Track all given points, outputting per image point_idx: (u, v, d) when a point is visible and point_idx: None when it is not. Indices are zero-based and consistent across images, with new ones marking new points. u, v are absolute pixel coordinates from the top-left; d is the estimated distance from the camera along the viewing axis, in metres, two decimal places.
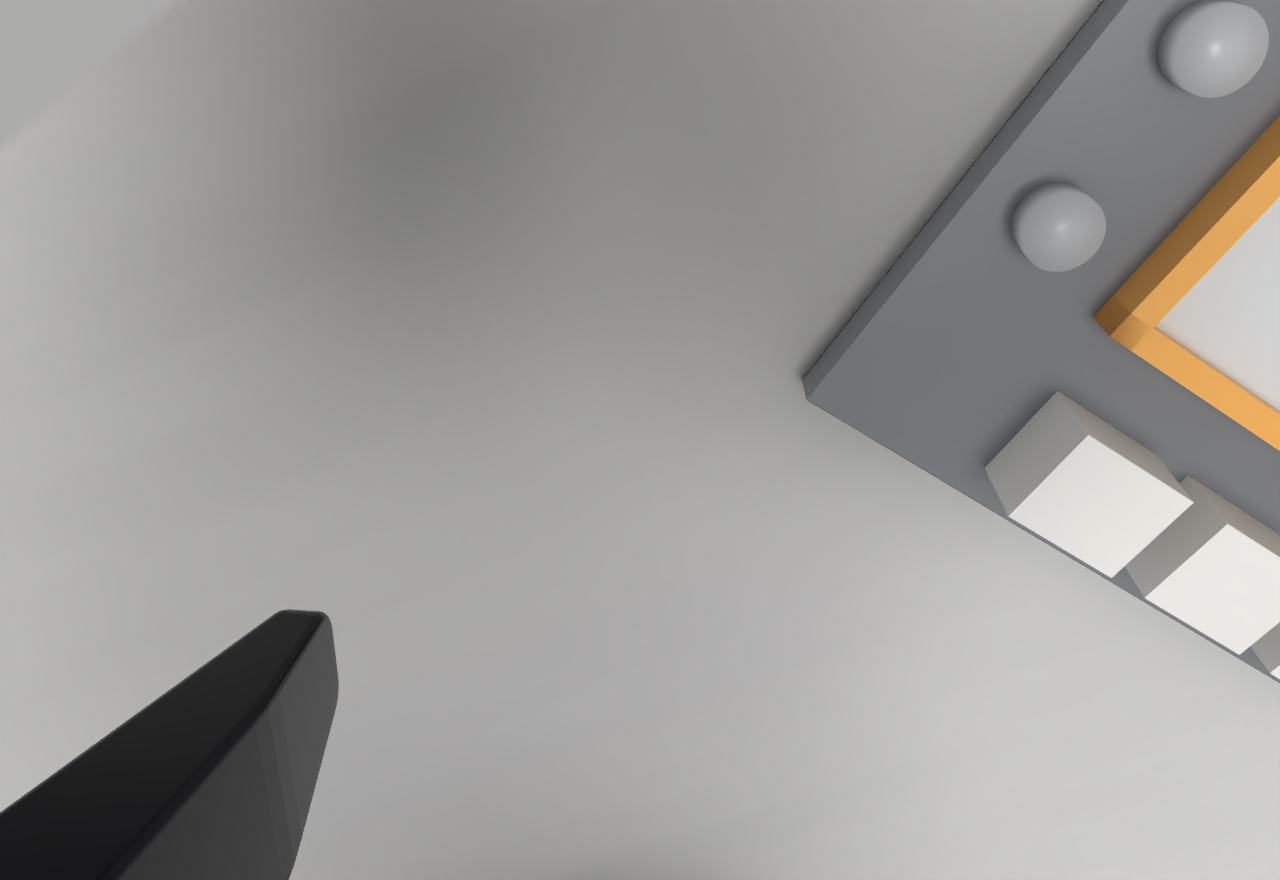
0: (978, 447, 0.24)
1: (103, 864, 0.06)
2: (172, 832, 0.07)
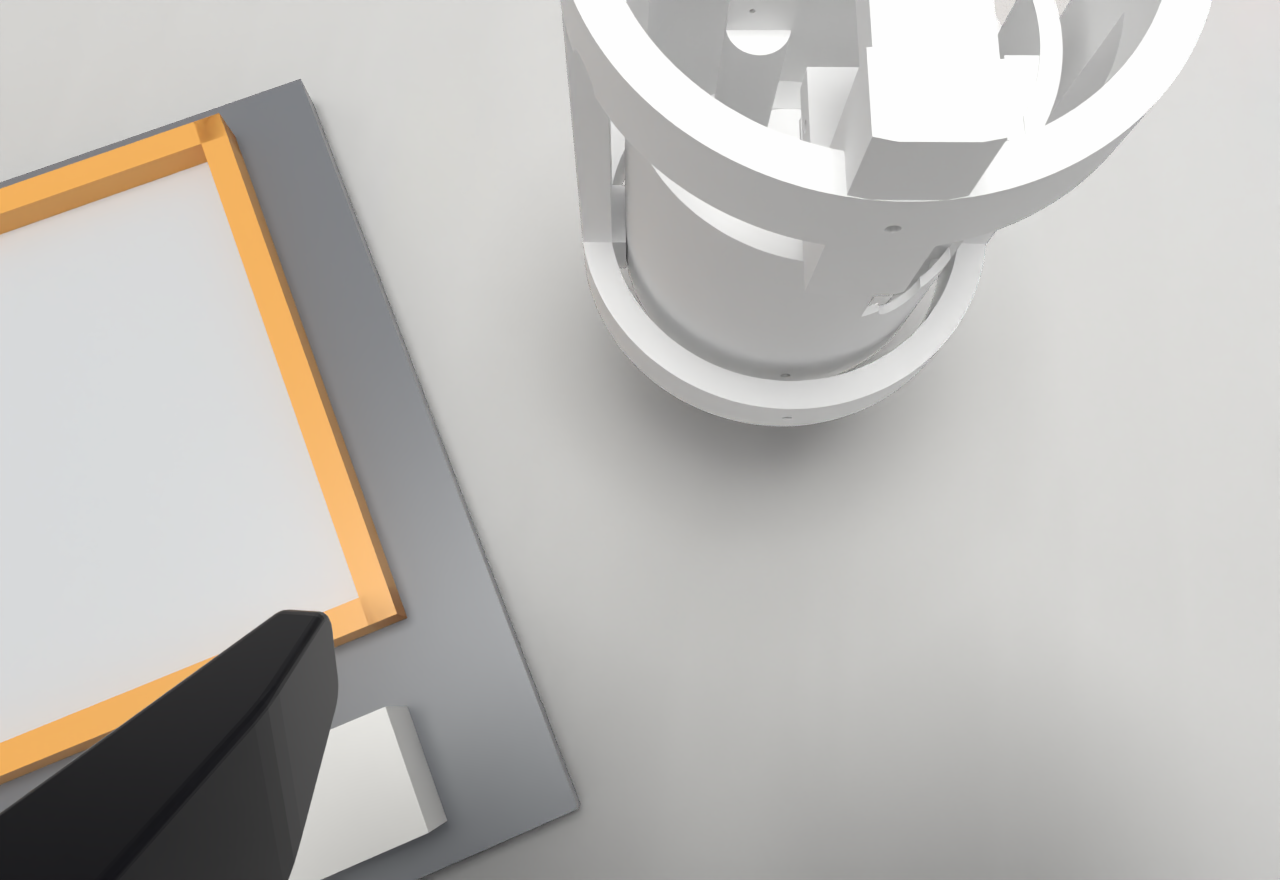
0: None
1: (103, 864, 0.06)
2: (172, 832, 0.07)
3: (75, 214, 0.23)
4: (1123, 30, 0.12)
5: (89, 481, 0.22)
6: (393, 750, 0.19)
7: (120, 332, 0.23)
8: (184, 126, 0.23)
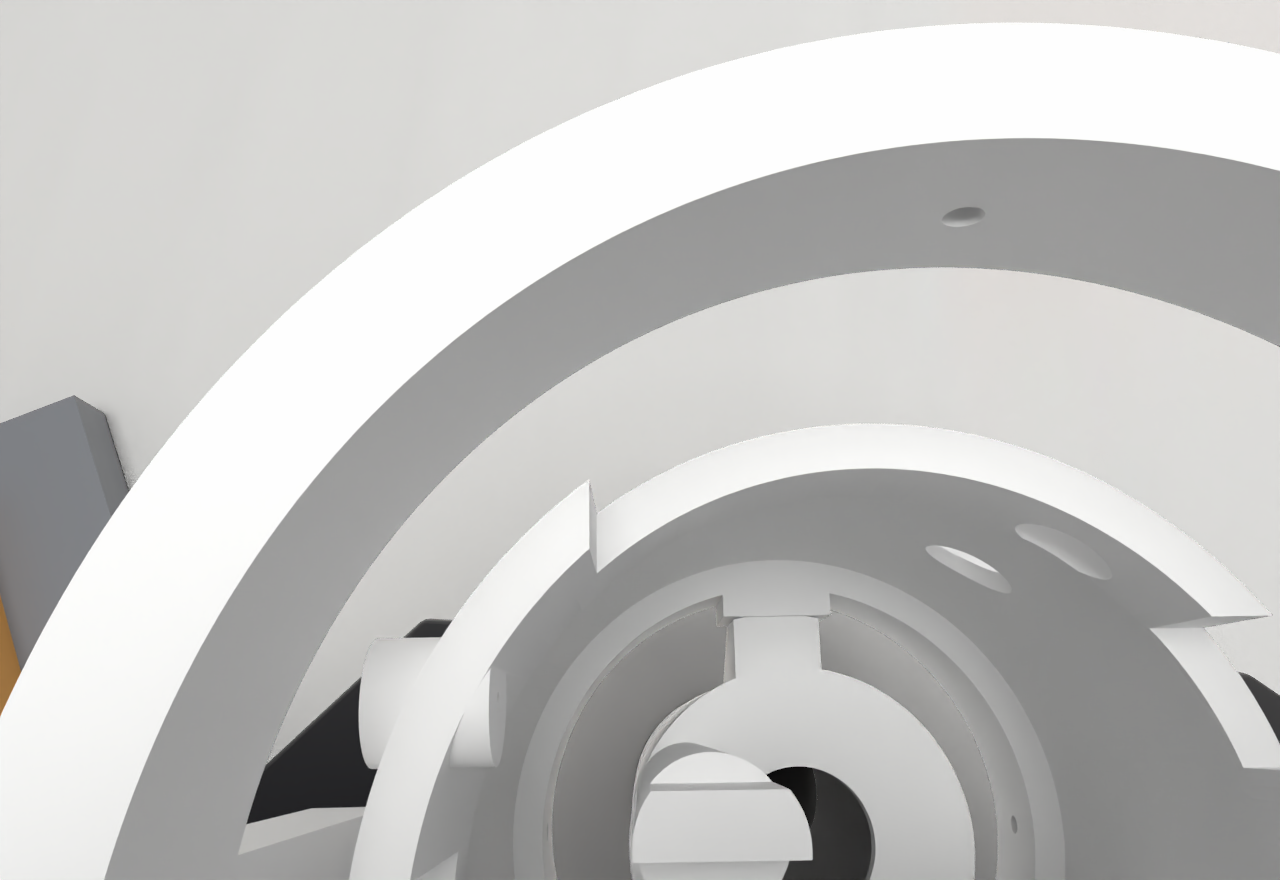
0: None
1: None
2: None
3: None
4: None
5: None
6: None
7: None
8: None
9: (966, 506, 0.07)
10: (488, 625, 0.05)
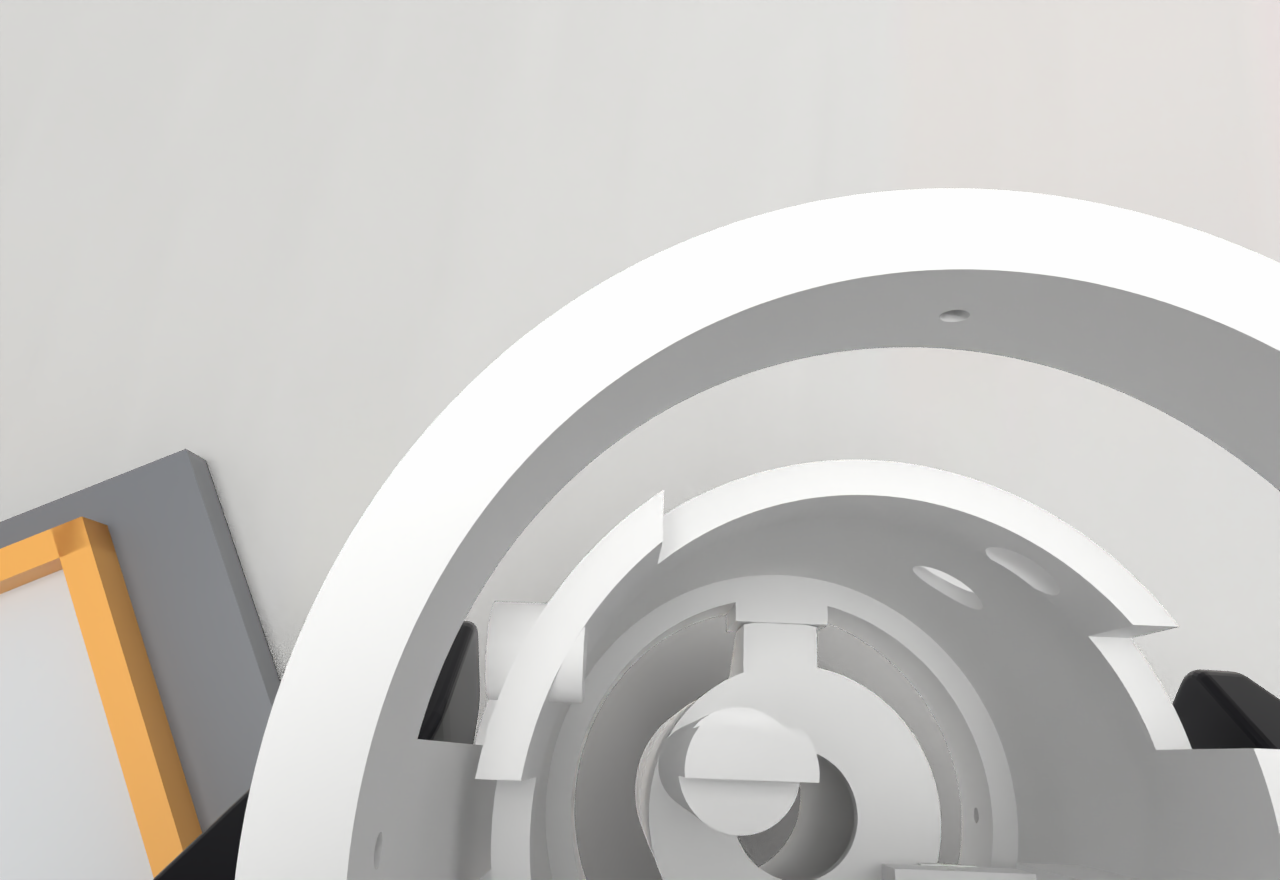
0: None
1: None
2: None
3: None
4: None
5: None
6: None
7: None
8: (40, 534, 0.20)
9: (947, 530, 0.08)
10: (584, 594, 0.07)
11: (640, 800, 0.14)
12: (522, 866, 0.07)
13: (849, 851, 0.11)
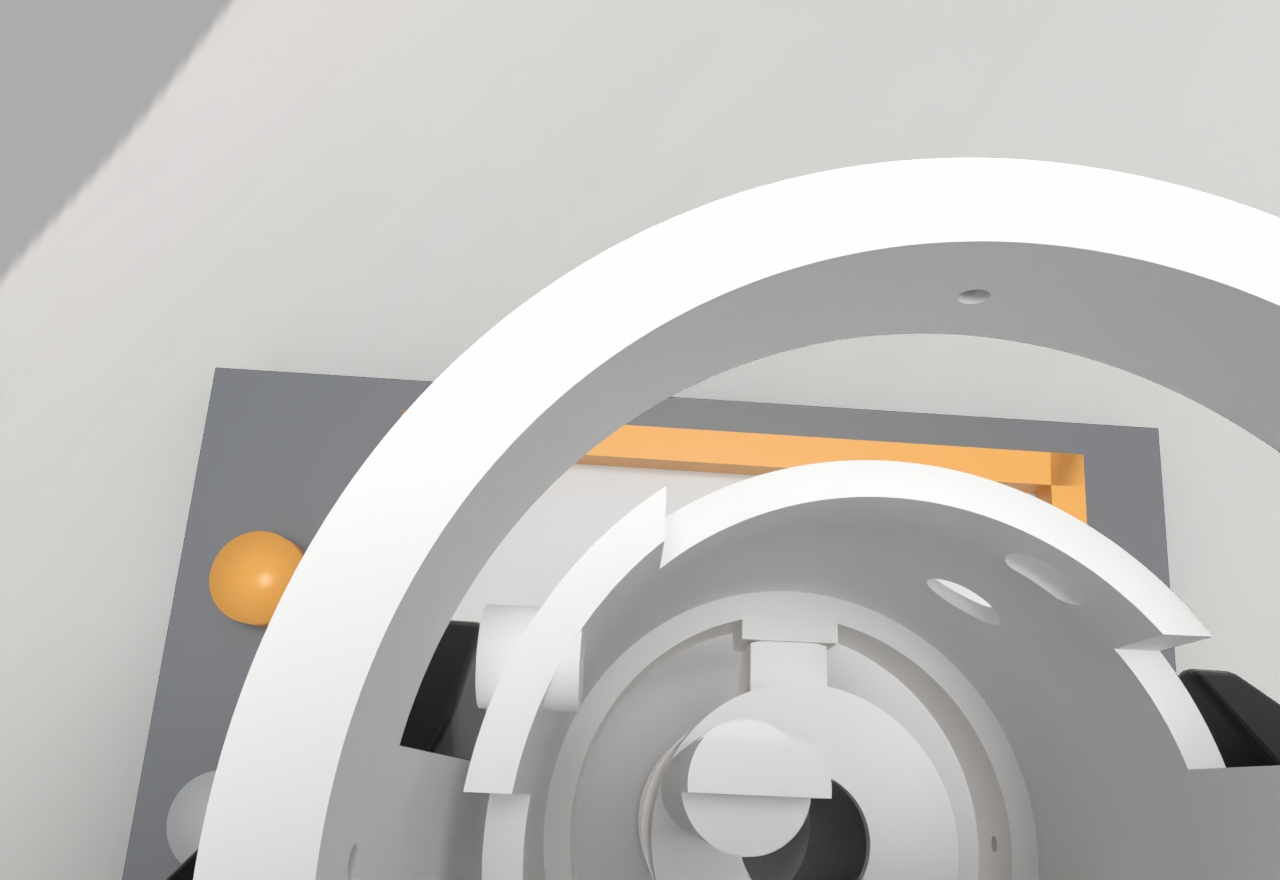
0: None
1: None
2: None
3: None
4: None
5: None
6: None
7: (865, 666, 0.18)
8: (1036, 452, 0.18)
9: (964, 537, 0.08)
10: (581, 595, 0.06)
11: (643, 828, 0.14)
12: None
13: None
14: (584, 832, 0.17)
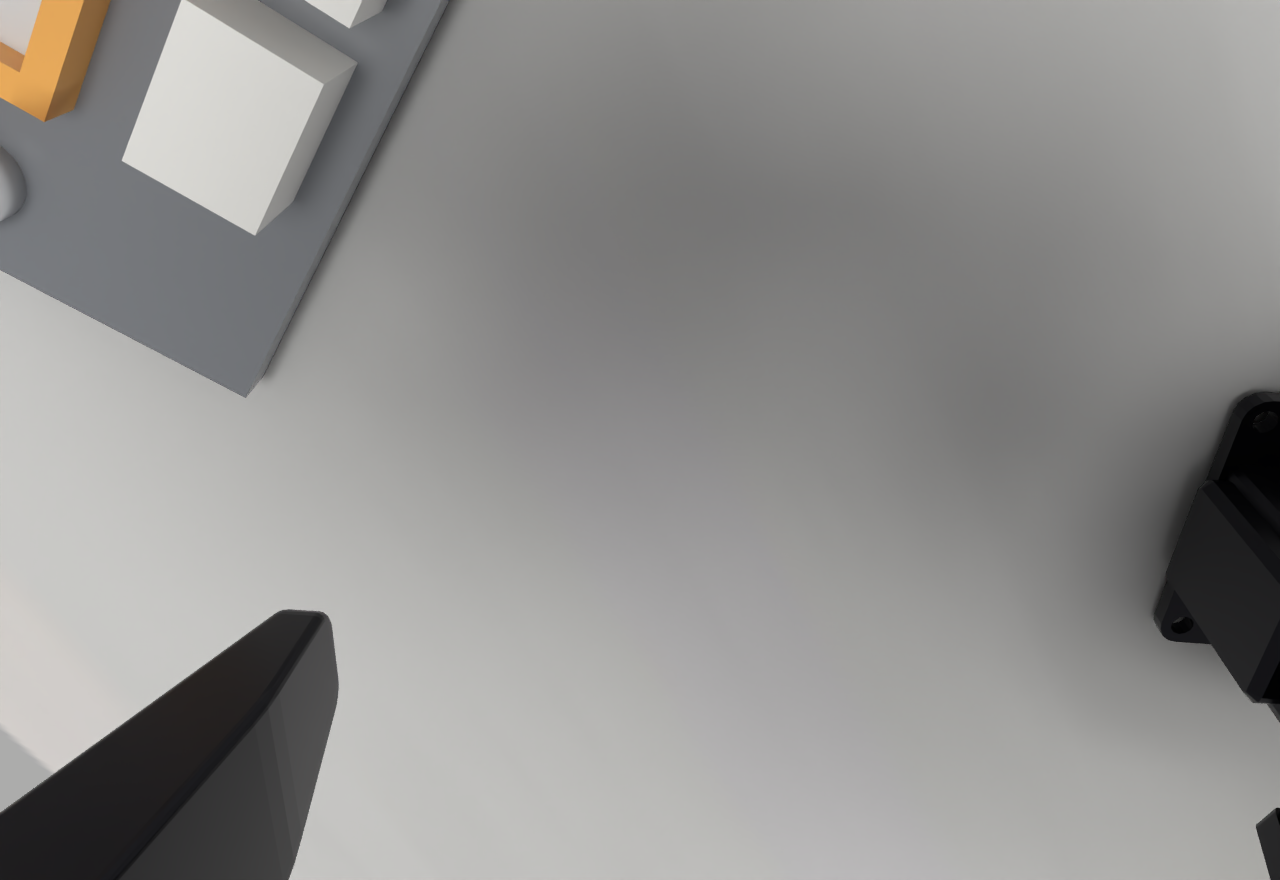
0: None
1: (102, 864, 0.06)
2: (171, 832, 0.07)
3: None
4: None
5: None
6: None
7: None
8: None
9: None
10: None
11: None
12: None
13: None
14: None
